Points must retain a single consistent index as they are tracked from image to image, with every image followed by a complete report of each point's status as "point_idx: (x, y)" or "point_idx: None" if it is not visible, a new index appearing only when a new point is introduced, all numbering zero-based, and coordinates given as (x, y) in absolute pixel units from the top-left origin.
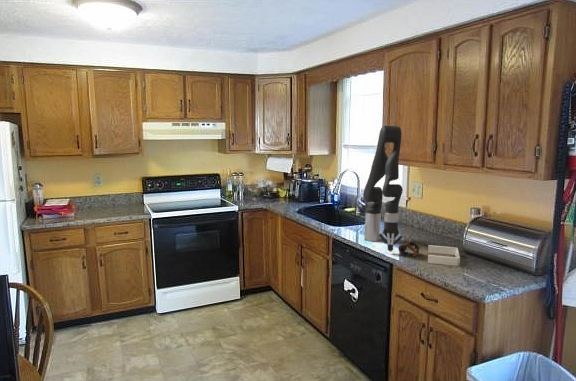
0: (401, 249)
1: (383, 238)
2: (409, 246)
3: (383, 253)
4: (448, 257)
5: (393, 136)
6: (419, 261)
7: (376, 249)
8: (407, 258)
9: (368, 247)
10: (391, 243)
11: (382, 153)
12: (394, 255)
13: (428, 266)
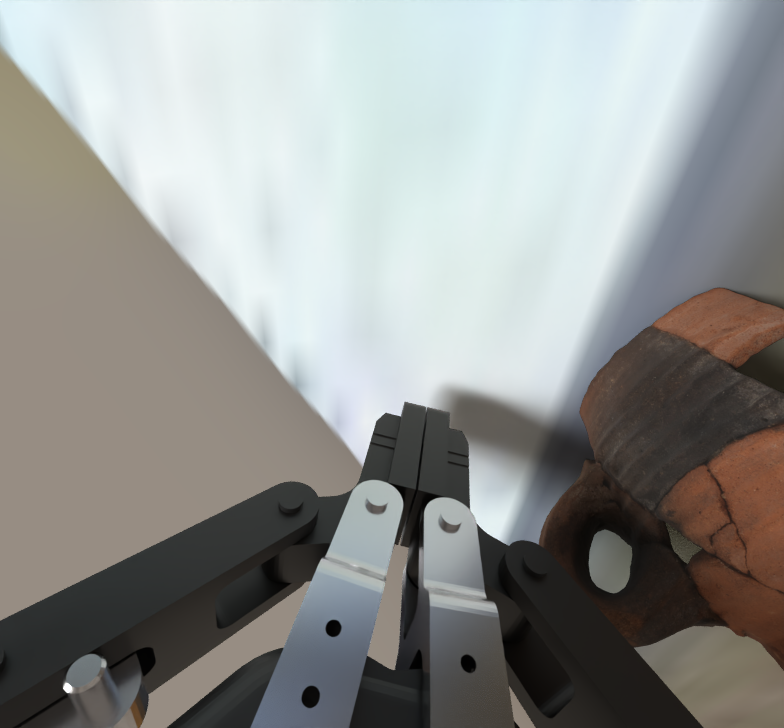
0: (609, 508)
1: (189, 652)
2: (775, 659)
3: (326, 390)
4: None
5: None
6: (711, 627)
7: (196, 179)
8: (611, 553)
9: (14, 37)
10: (415, 588)
11: None
12: (471, 462)
13: (720, 709)
